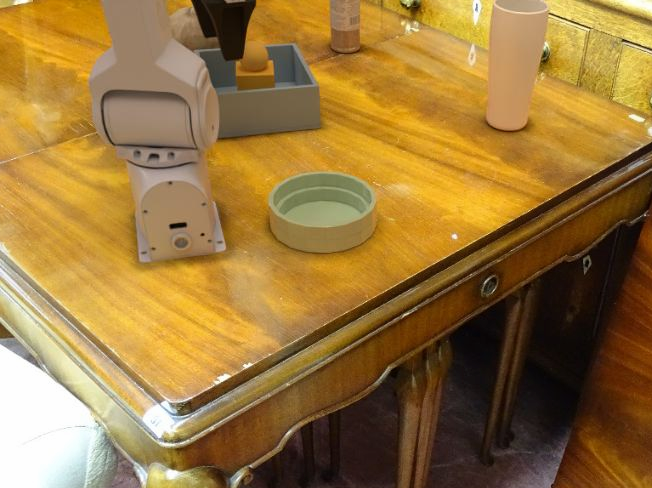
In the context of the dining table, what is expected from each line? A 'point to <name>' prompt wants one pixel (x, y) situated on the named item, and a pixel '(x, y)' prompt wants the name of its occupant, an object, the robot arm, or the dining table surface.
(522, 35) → the drinking glass
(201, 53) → the bin
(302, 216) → the bowl
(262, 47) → the orange ball-topped block
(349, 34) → the sprinkles bottle
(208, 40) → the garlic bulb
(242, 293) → the dining table surface
